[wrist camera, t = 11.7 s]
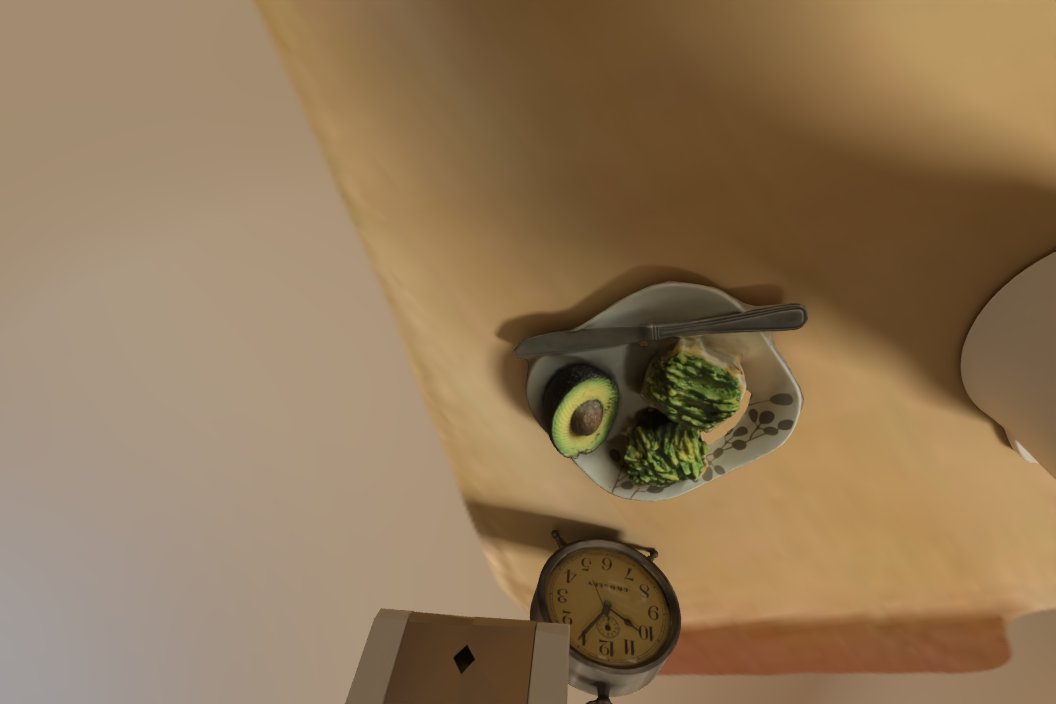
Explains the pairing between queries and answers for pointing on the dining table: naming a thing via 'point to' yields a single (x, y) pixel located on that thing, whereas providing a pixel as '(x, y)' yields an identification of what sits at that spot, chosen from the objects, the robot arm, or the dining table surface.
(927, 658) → the dining table surface
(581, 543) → the alarm clock
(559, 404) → the salad plate
